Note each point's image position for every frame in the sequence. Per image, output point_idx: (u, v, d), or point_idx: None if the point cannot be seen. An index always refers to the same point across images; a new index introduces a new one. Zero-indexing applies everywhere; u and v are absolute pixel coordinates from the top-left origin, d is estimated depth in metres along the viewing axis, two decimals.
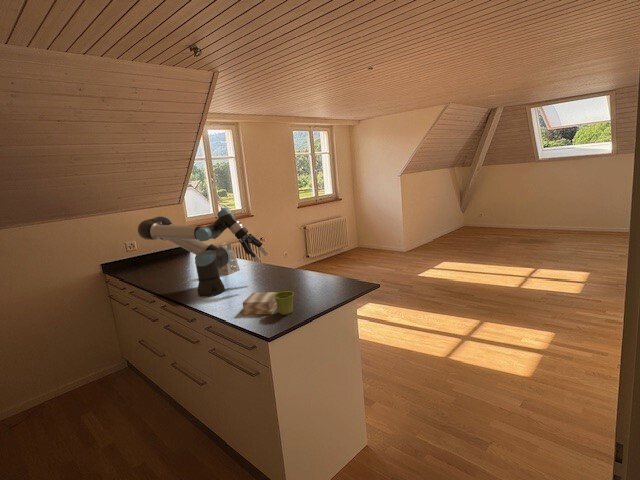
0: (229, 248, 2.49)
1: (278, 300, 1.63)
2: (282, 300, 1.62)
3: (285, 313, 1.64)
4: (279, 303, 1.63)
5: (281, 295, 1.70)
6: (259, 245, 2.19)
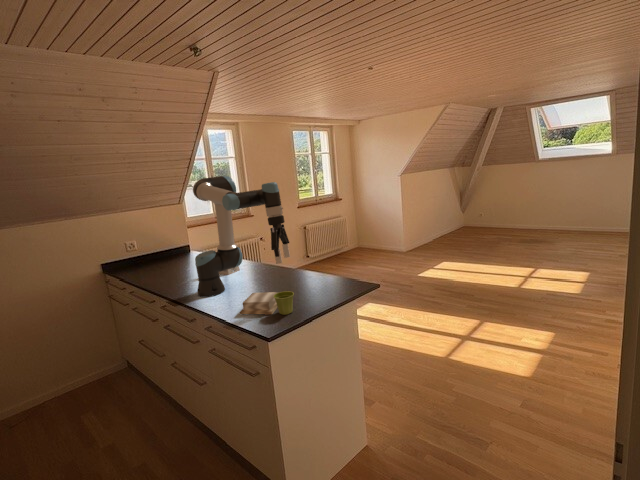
0: None
1: (278, 300, 1.63)
2: (283, 300, 1.62)
3: (285, 313, 1.64)
4: (279, 303, 1.63)
5: (281, 295, 1.70)
6: (285, 242, 1.77)
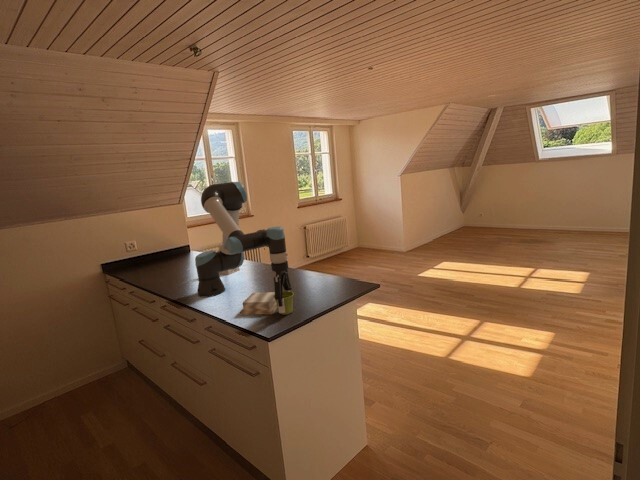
0: None
1: None
2: None
3: (285, 313, 1.64)
4: None
5: None
6: (287, 289, 1.71)
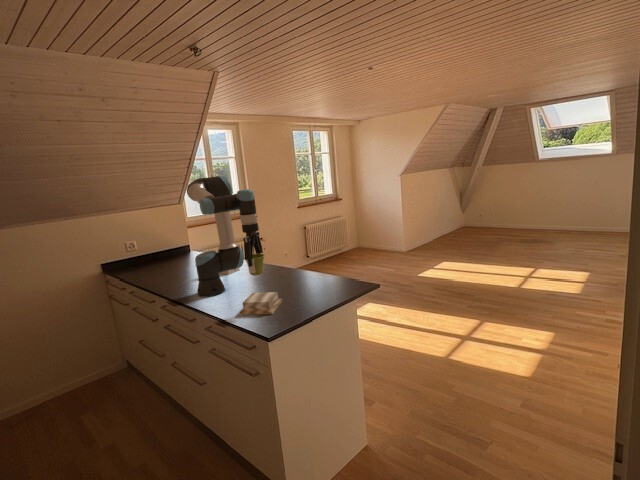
0: None
1: None
2: None
3: (255, 274, 1.70)
4: None
5: None
6: (258, 251, 1.76)
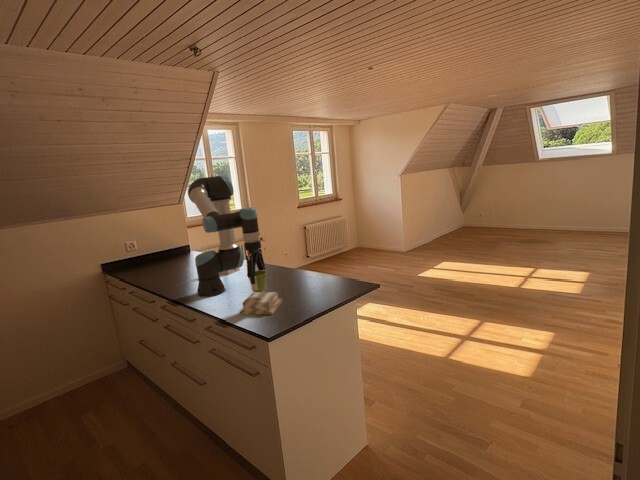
0: None
1: None
2: None
3: (258, 291, 1.71)
4: None
5: (255, 274, 1.77)
6: (261, 268, 1.78)
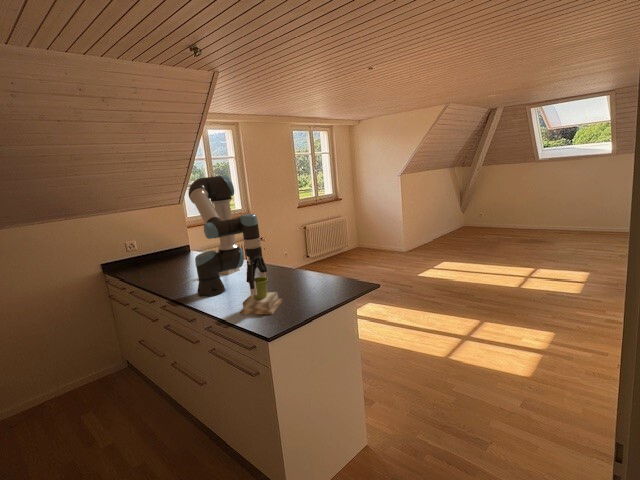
0: None
1: None
2: (256, 284, 1.70)
3: (259, 297, 1.72)
4: None
5: (256, 281, 1.78)
6: (262, 270, 1.80)
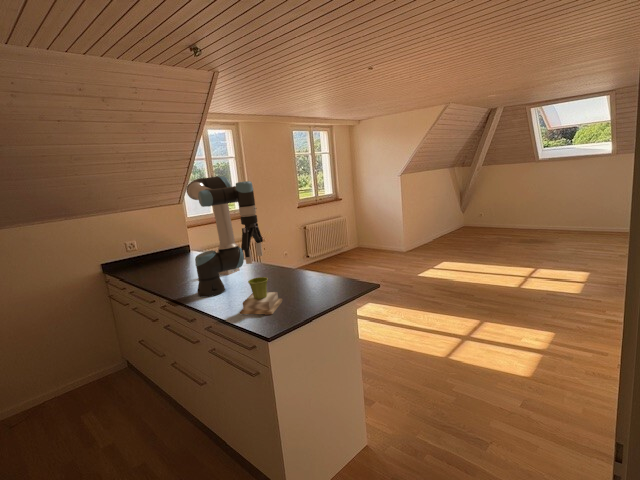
0: None
1: (252, 284, 1.70)
2: (256, 284, 1.70)
3: (259, 297, 1.72)
4: (253, 288, 1.71)
5: (256, 281, 1.78)
6: (258, 241, 1.77)
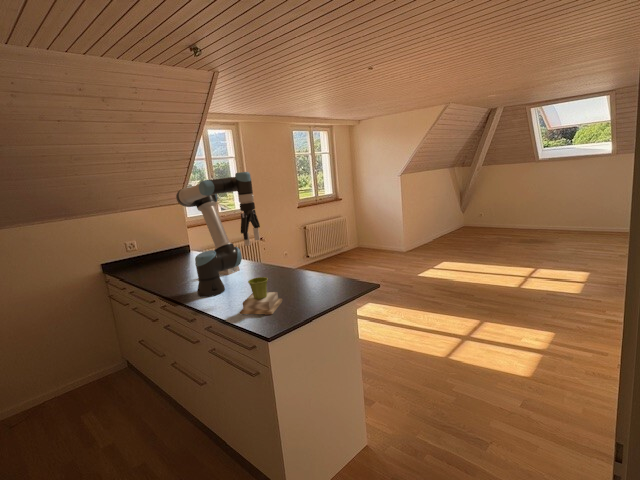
0: None
1: (252, 284, 1.70)
2: (256, 284, 1.70)
3: (259, 297, 1.72)
4: (253, 288, 1.71)
5: (256, 281, 1.78)
6: (256, 226, 1.96)
